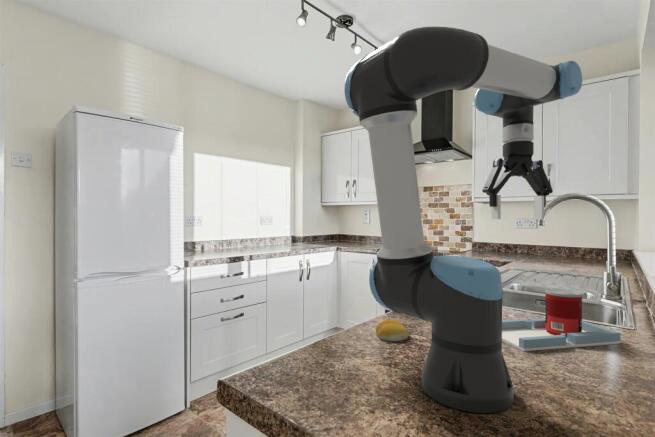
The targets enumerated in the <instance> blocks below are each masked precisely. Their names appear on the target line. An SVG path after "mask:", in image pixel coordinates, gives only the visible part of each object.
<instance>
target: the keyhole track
mask: <svg viewBox="0 0 655 437" xmlns="http://www.w3.org/2000/svg"><path fill="white" fill-rule="evenodd" d="M621 340H622V339H621V332H619V331H616V330H612V329H609V328H605V327H602V326H599V325H596V324H593V323H589V322H588V321H583V320H582V332H578V333H567V338H566V334H565V333H561V335H552V334H550V333H548V332H547V331H546V328H545V317H541V318H540V317H537V318H528V319H527V320H526V319H525V320H522V319H505V320H503V319H502V342H504V343H505V344H506V343H507V344H508V345H511V347H514V348H516V349H518V350H520V351H523V352H531V351H532V352H533V351H541V350H542V351H544V350H555V349H568V348H569V349H570V348H578V347H579V348H580V347H593V346H605V345H606V346H607V345H618V344H621V342H622V341H621Z"/></svg>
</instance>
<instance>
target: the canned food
mask: <svg viewBox="0 0 655 437" xmlns="http://www.w3.org/2000/svg"><path fill="white" fill-rule="evenodd" d="M544 295H545V296H544V297H545V299H544V302H545V304H544V305H545V317H544V318H545V328H546V331H547V332H548V333H550V334H552V335H561V333H565V334H566V338H567V333H578V332H582V321H583V294H582V293H581V292H579V291H577V290H570V289H568V290H567V289H560V288H549V289H545V293H544Z"/></svg>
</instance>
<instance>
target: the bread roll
mask: <svg viewBox="0 0 655 437" xmlns="http://www.w3.org/2000/svg"><path fill="white" fill-rule="evenodd" d="M375 333H376V335H377V336H378V338H379V339H380V340H383V341H388V342H402V341H405V340H407V339H408V337H409V330H408V329H407V327H405V326H404V325H403V323H401V322H400V321H398V320H394V319H384V320H382V321H380V322H379V323H378V324H376V326H375Z"/></svg>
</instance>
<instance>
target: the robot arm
mask: <svg viewBox="0 0 655 437" xmlns="http://www.w3.org/2000/svg"><path fill="white" fill-rule="evenodd" d="M582 85H583V74H582V68H581V67H580V65H579V64H578V63H577V61H574V60H568V61H564V62H560V63H558V64H556V65H551V64H548V63H545V62H541V61H539V60H535V59H532V58H529V57H526V56H524V55H522V54H521V55H520V54H518V53H516V52H512V51H510V50H506V49H502V48H499V47H496V46H495V45H494V46H493V45H491V44H489V42H488V41H487V39H486V38H485V37H484V36H483V35H481V34H479V33H476V32H473V31H469V30H466V29H463V28H457V27H450V26H449V27H448V26H421V27H416V28H412V29H408V30H406V31H405V32H403V33H401V34H399V35H397V36H396V37H395V38H393V39H392V40H390V41H389V42H387V43H386V44H384V45H382V46H380V47H379V48H377V49H376V50H374V51H372V52H370V53H368V54H365V55H364V56H363V57H361V58H360V59H359V60H358V61H357V62H356V63H354V65H353V66H352V67H351V68H350V69H349V71H348V72H347V74H346V77H345V81H344V89H343V90H344V98H345V102H346V104H347V106H348V108H349V109H351V111H352V113H353V114H354V115H355V116H356V117H358V118H359V125H360V126H361V127H363V128H364V129H365V130H366V131H367V133H368V140H369V147H370V156H371V161H372V162H371V164H372V172H373V177H374V178H373V180H374V186H375V195H376V203H377V209H378V210H377V211H378V218H379V219H378V220H379V226H380V235H381V241H382V242H381V244H382V245H381V247H380V248H379V249H378V250H377V252H376V260H375V262H374V263H373V264H372V266H371V267H372V270H370V271H369V276H368V278H369V279H368V280H369V282H368V283H369V288H370V292H371V294H372V296H373V298H374V300H375V301H376V302H378V304H379V305H381V306H382V307H383V308H385V309H388V310H390V311H392V312H393V313H397V314H402V315H404V316H406V315H407V316H409V317H413V318H416V319H418V320H422V321H426V322H429V323H431V343H430V346H429V350H428V353H427V356H426V358H425V362H424V364H423V367H422V370H421V388H422V390H423V391H424V393H425V394H426V395H427V396H428V397H429V398H431V399H433V400H434V401H436V402H437V403H439V404H442V405H443V406H446V407H449V408H452V409H455V410H459V411H462V412H463V411H464V412H467V413H468V412H469V413H477V414H491V413H492V414H494V413H499V412H502V411H505V410H507V409H509V408H511V406H512V405H513V403H514V394H515V393H514V384H513V382H512V379H511V376H510V375H511V374H510V373H509V370H508V366H507V363H506V360H505V358H504V354H503V348H502V347H503V341H502V320H503V297H504V290H503V282H502V274H501V271H500V270H499V269H498V268H497V267H496V265H494V264H492V263H489V262H488V261H485V260H481V259H477V258H471V257H467V256H459V255H449V254H448V255H445V254H444V255H443V254H442V255H437V256H436V255H435V256H434V249H433V247H432V246H431V245H430V244H428V243H427V242H426V241H425V237H424V229H423V228H424V227H423V219H422V211H421V210H422V209H421V204H420V203H421V201H420V192H419V184H418V175H417V169H416V168H417V167H416V160H415V150H414V142H413V141H414V140H413V134H412V123H413V121H414V120H415V119H416V118H417V116H418V107H417V106H418V105H417V101H418V100H421V99H423V98H427V97H428V96H430V95H433V94H436V93H439V92H444V91H447V90H448V91H449V90H454V91H465V90H468V89H470V88H474V89H477V90H476V92H475V94H474V100H473V103H474V106H475V109H477V110H478V111H479V112H481V113H483V114H485V115H488V116H492V117H493V116H494V117H496V118H497V117H498V118H500V119H502V143H503V145H502V157H503V158H504V159H503V158H497V159H493V160H492V161H493V162H492V169H491V170H490V172H489V174H488V177H487V180H486V181H485V184H484V186H483V189H482V192H483V193H484V194H486V195H487V196H488V197H489V198H488V199H489V207H490V208H491V220H501V219H502V218H501V215H502V212H501V206H502V205H501V202H502V198H501V194H499V193H500V191H501V190H502V188H503V187H504V186H505V185H506V183H507V182H508V181H509V179H510V178H511V177H518V178H519V177H522V178H523V179H524V180H525V181H526V183H528V185H529V186H530V187H531V189H532V190H533V192H534V193H535V195H536V196H533V198H534V201H533V202H534V203H533V205H534V206H533V208H534V209H533V210H534V212H533V214H534V216H533V219H534V220H545V208H546V207H547V198H546V197H547V196H549V195H550V194H552V193H553V191H554V190H553V188H552V185H551V183H550V181H549V179H548V176H547V174H546V171H545V169H544V163H543V160H542V159H539V160H538V159H537V160H534V161H533V159H532V158H533V156H534V153H535V150H534V148H535V147H534V146H535V145H534V142H533V140H534V134H535V133H534V107H535V106H540V105H543V104H547V103H551V102H555V101H558V100H563V99H566V98H568V97H572V96H575V95H577V94H578V93H579V92H580V91H581V89H582ZM503 168H504V170H503V171H502V169H503ZM501 172H502V173H501ZM500 173H501V174H500ZM498 177H499V178H498Z"/></svg>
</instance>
